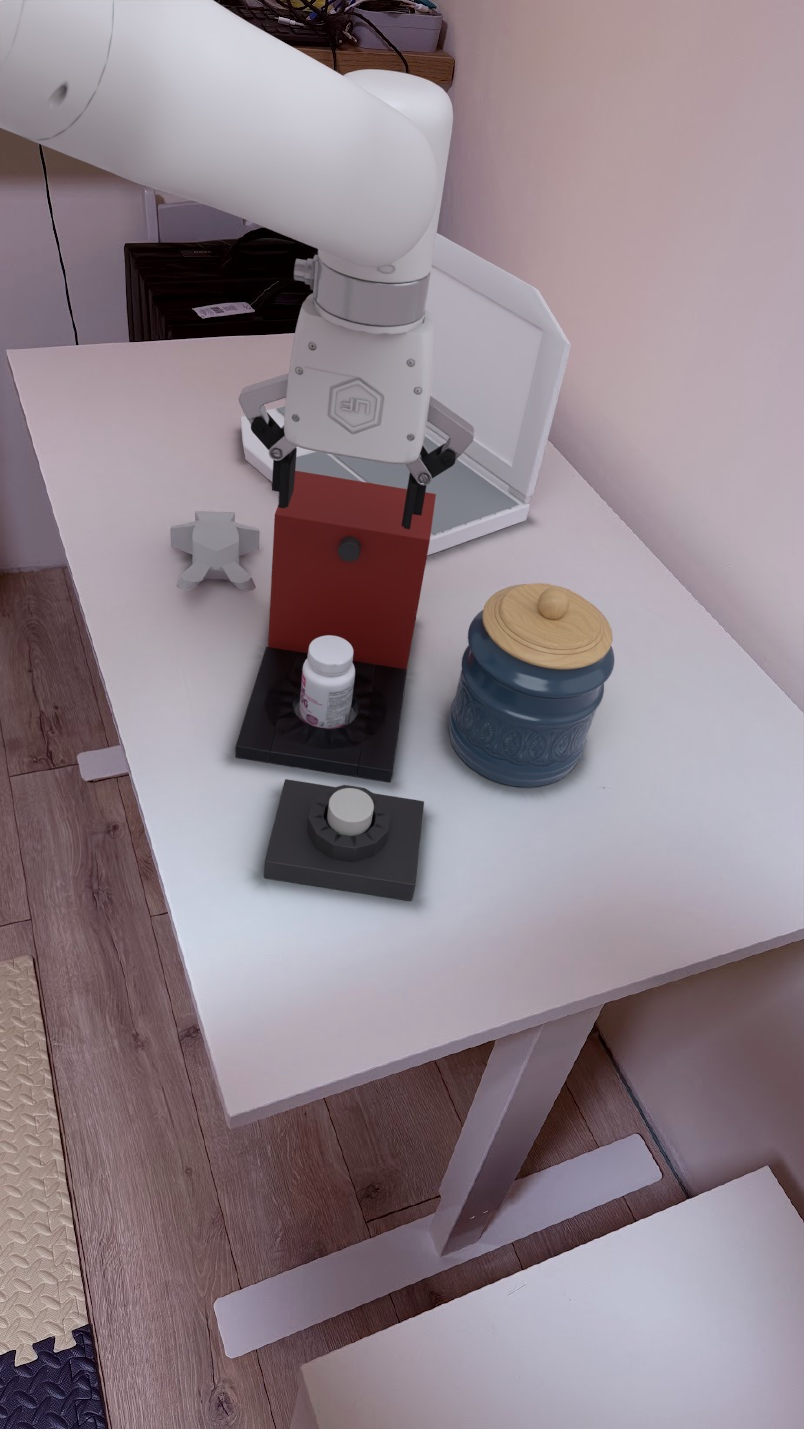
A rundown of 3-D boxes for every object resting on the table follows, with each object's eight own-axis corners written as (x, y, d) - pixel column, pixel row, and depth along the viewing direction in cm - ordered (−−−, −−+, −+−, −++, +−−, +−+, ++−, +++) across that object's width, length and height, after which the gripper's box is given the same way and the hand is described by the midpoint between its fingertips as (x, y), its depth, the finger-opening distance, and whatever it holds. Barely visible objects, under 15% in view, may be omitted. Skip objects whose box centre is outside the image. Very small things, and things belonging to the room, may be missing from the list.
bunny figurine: (257, 500, 113) (264, 565, 101) (256, 541, 116) (262, 609, 104) (171, 496, 111) (167, 563, 100) (172, 538, 114) (168, 608, 103)
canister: (607, 766, 95) (665, 619, 83) (495, 808, 90) (540, 657, 78) (529, 680, 103) (571, 534, 91) (420, 713, 97) (451, 562, 85)
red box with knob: (265, 658, 100) (272, 520, 89) (281, 603, 107) (290, 469, 96) (405, 681, 100) (429, 546, 89) (412, 625, 107) (436, 493, 96)
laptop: (216, 438, 129) (217, 220, 111) (365, 401, 142) (389, 201, 124) (374, 575, 112) (406, 345, 94) (528, 520, 125) (582, 307, 107)
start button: (324, 832, 80) (325, 817, 79) (330, 798, 83) (332, 784, 82) (368, 839, 81) (371, 825, 79) (373, 805, 83) (376, 791, 82)
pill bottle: (288, 710, 95) (293, 641, 89) (330, 693, 98) (338, 625, 92) (316, 742, 93) (323, 673, 87) (359, 724, 95) (368, 656, 89)
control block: (263, 878, 81) (265, 846, 78) (283, 795, 87) (286, 763, 85) (411, 901, 81) (418, 871, 78) (420, 817, 88) (427, 786, 85)
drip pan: (235, 757, 90) (235, 746, 89) (265, 657, 100) (266, 646, 99) (390, 782, 90) (392, 771, 89) (405, 680, 100) (407, 669, 99)
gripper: (231, 288, 65) (227, 516, 76) (497, 334, 65) (452, 554, 77) (254, 249, 70) (247, 467, 82) (499, 291, 71) (457, 503, 82)
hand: (346, 509), depth 79 cm, fingers open, 9 cm apart
